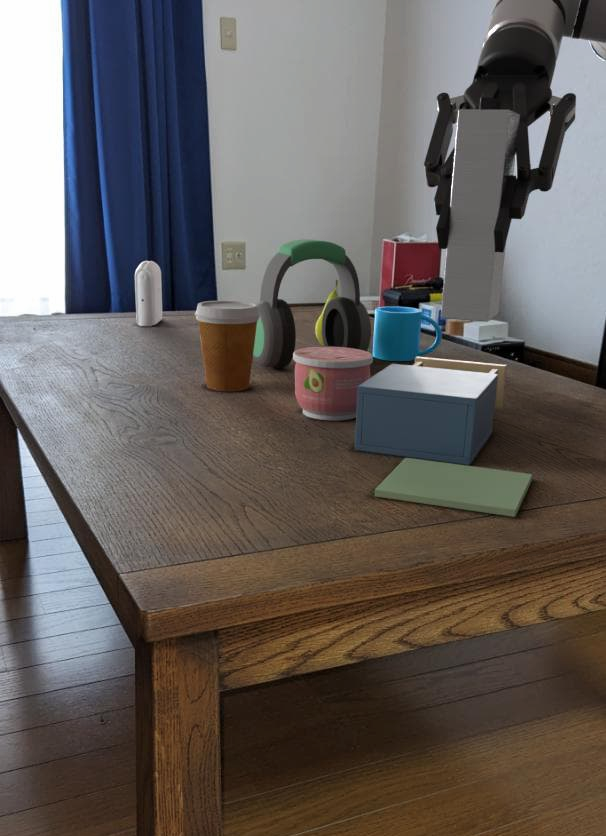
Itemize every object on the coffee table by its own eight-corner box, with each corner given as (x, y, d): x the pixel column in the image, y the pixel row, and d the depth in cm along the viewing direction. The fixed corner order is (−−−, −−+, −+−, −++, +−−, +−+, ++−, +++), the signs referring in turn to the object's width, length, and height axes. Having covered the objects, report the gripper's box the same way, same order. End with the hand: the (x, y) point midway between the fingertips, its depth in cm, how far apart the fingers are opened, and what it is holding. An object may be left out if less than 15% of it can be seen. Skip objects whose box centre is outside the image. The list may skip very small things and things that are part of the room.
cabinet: (388, 421, 118) (391, 363, 115) (491, 433, 113) (498, 374, 110) (354, 450, 105) (357, 386, 102) (469, 465, 101) (476, 398, 98)
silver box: (498, 313, 89) (521, 102, 82) (487, 321, 84) (511, 96, 77) (453, 310, 91) (472, 101, 84) (440, 318, 86) (459, 96, 78)
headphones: (268, 375, 142) (269, 242, 135) (243, 362, 151) (244, 237, 144) (373, 368, 150) (380, 242, 142) (344, 356, 159) (349, 237, 151)
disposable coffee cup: (217, 377, 140) (216, 298, 135) (271, 384, 136) (272, 303, 131) (183, 389, 132) (181, 305, 127) (239, 397, 128) (239, 311, 123)
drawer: (420, 391, 130) (424, 351, 128) (506, 400, 126) (511, 359, 124) (388, 419, 115) (391, 374, 113) (484, 430, 111) (489, 384, 109)
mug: (370, 359, 157) (372, 311, 154) (375, 351, 164) (377, 305, 161) (439, 363, 155) (443, 315, 152) (441, 355, 162) (445, 309, 159)
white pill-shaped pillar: (155, 326, 183) (153, 263, 178) (134, 326, 183) (131, 262, 178) (164, 319, 192) (162, 259, 187) (144, 318, 192) (142, 258, 187)
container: (280, 406, 123) (281, 348, 120) (349, 401, 127) (352, 344, 124) (309, 425, 114) (311, 363, 111) (383, 420, 118) (386, 359, 115)
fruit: (317, 350, 163) (319, 282, 158) (312, 345, 168) (314, 278, 164) (348, 350, 164) (351, 283, 159) (342, 345, 169) (345, 279, 164)
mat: (531, 481, 96) (532, 474, 96) (515, 517, 86) (516, 509, 85) (404, 464, 100) (405, 457, 100) (374, 496, 90) (374, 489, 90)
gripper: (607, 89, 90) (568, 274, 82) (436, 89, 96) (383, 262, 88) (613, 20, 83) (570, 214, 75) (428, 24, 89) (370, 205, 81)
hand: (469, 239), depth 81 cm, fingers closed on silver box, 4 cm apart
